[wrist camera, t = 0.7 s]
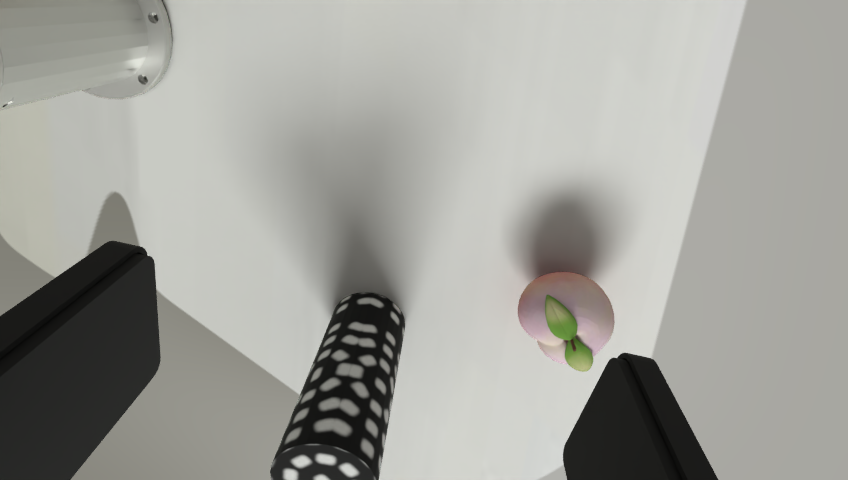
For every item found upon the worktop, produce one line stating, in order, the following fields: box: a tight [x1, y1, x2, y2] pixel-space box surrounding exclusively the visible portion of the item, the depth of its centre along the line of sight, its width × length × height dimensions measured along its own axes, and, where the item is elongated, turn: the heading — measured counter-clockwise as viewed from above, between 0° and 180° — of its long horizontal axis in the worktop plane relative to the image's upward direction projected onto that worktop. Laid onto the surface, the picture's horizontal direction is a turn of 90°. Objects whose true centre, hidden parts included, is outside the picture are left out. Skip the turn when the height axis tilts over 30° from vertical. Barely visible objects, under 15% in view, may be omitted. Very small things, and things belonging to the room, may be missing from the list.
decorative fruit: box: [518, 272, 614, 372], centre depth 46 cm, size 9×8×10 cm
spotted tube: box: [270, 293, 405, 480], centre depth 45 cm, size 8×8×20 cm
